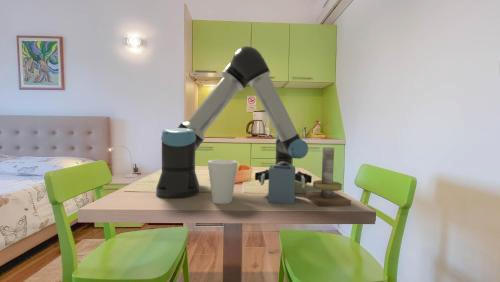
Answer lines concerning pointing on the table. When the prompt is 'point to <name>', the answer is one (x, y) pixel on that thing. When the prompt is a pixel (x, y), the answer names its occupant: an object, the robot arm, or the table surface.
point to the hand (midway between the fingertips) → (282, 182)
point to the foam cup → (222, 180)
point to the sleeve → (281, 184)
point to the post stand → (327, 184)
